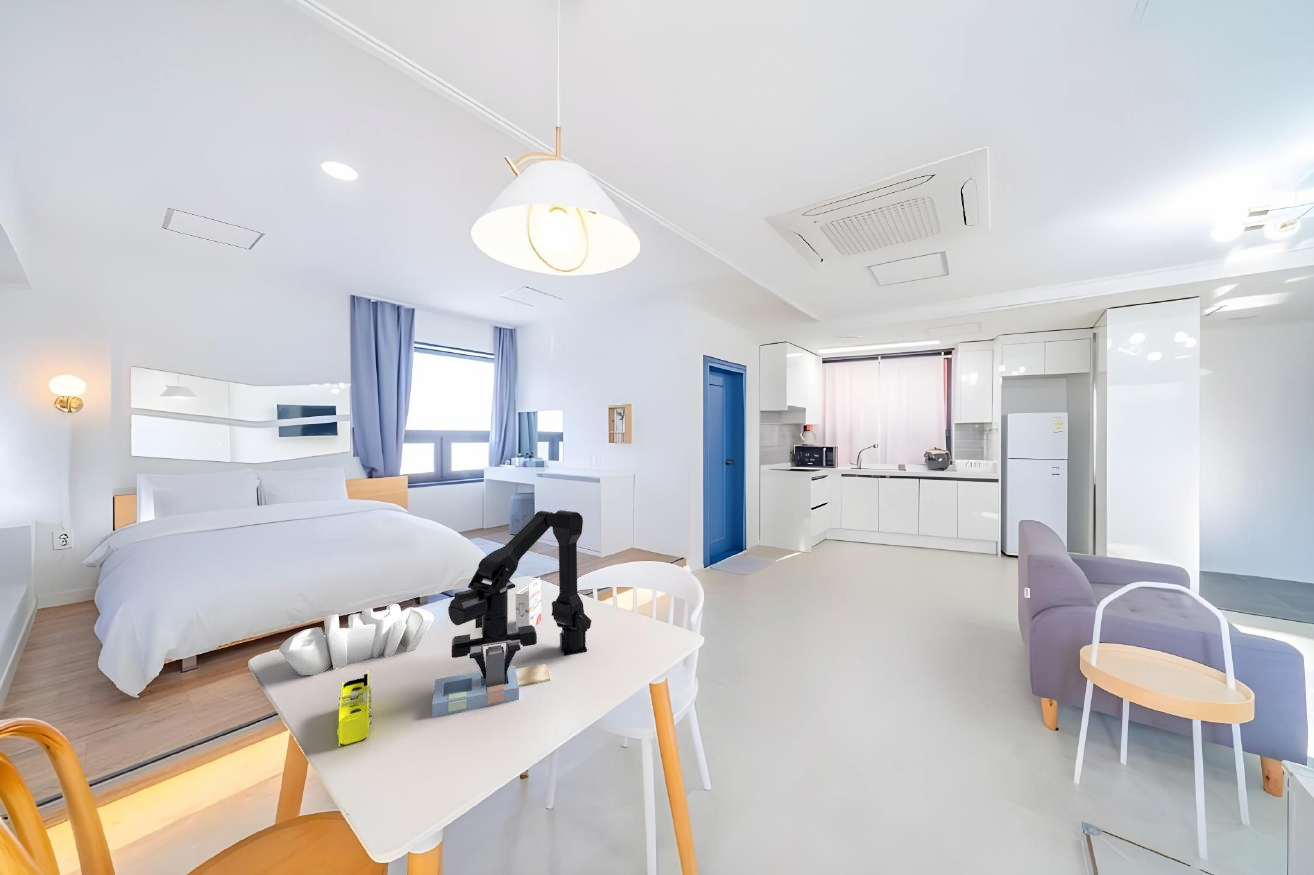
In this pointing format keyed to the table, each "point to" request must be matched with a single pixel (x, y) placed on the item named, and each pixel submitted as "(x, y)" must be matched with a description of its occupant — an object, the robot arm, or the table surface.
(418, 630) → the wavy white extrusion
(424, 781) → the table surface
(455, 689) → the dock
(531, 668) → the coaster
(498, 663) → the plug
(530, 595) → the ink cartridge box
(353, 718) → the yellow toy chassis
